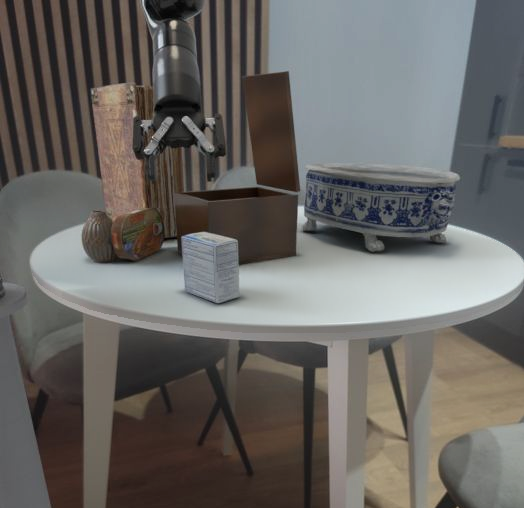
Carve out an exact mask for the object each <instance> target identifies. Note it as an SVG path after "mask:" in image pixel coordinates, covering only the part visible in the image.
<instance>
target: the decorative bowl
mask: <svg viewBox="0 0 524 508" xmlns="http://www.w3.org/2000/svg"><path fill="white" fill-rule="evenodd" d="M304 169H305V170H308V171H307V173H306V175H305V197H304V198H305V199H304V206H303V209H304V210H303V216H304V217H305V218H306V222H304V224H303V225H302V232H312V231H316V230H317V226H318V225H317V222H318V223H322V224H325V225H328V226H332V227H333V228H338V229H343V230H347V231H348V230H349V231H351V232H356V233H360V234H362V235H363V237H364V247H365V249H367V250H368V251H370V252H374V253H375V252H380V251H385V244H384V243H383V240H380V239H378V238H377V236H380V237H397V238H424V237H428V239H429V241H431V242H433V243H438V244H443V245H444V244H446V243H447V237H446V234H444V232H446V230H447V228H448V226H449V221H450V218H451V217H452V210H453V208H454V206H455V202H456V199H455V197H456V194H455V192H456V189H457V187H456V182H459V181H460V180H461V177H460V174H458V173H456V172H453V171H451V170H450V171H449V170H445V169H439V168H433V167H425V166H413V165H412V166H411V165H402V164H401V165H400V164H385V163H360V162H358V163H357V162H355V163H354V162H353V163H351V162H349V163H347V162H346V163H343V162H341V163H340V162H339V163H318V164H317V163H309V164H306V165H305V166H304Z"/></svg>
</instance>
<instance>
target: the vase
mask: <svg viewBox="0 0 524 508" xmlns="http://www.w3.org/2000/svg"><path fill="white" fill-rule="evenodd" d="M112 225H113V221H112V220H111V219H110V218H109V217H108V216H107V214H106V211H105V210H104V209H103V210H102V209H96V210H92V211H90V214H89V217H88V219H87V220H86V221H85V223H84V226H83V227H82V231H81V245H82V248H83V251H84V252H85V254H86V255H87V257H88V258H89V259H91V260H92V261H93V262H96V263H98V262H99V263H107V262H111V261H114V260H116V258H117V257H118V256H117V254H116V253H115V251H114V247H113V243H112V236H111V228H112Z"/></svg>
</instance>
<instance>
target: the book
mask: <svg viewBox="0 0 524 508" xmlns="http://www.w3.org/2000/svg"><path fill="white" fill-rule="evenodd" d="M89 90H90V98H91V106H92V113H93V121H94V130H95V139H96V146H97V154H98V163H99V171H100V175H101V176H100V179H101V186H102V187H101V188H102V193H103V201H104V211H105V212H106V214H107V216H108V217H109V218H110V219H111V220H112V221H113V222H114V220H115V219H116V218H117V217H118V216H120V215H123V214H126V213H130V212H133V211H136V210H139V209H143V208H155V209H157V210H158V211H159V213H160V214H161V216H162V219H163V222H164V228H165V236H164V239H167V238H168V239H169V238H177V230H176V214H175V198H174V192H185V180H184V163H183V147H178V148H170V147H169V146H168V147H167V148H166V149H165V151H164V152H163V153H162V154H160V155H159V156H158V157H157V158H156V160H155V161H156V175H157V184H152V182H151V180H148V178H147V175H146V168H145V160H143V159H141V160H138V159H136V157H135V154H134V151H133V149H132V141H133V118H134V117H135V116H139V117H140V118H141V120H152V118H153V116H154V102H153V85H152V86H151V85H137V83H136V82H134V81H132V82H125V83H116V84H109V85H103V86H93V87H91V88H90V89H89ZM154 134H155V132H154V131H153V129H150V130H149V131H148V134H147V135H146V136H144V143H143V147H144V148H146V147H147V146H148V144H149V143H150V142H151V140H152V137H153V135H154Z"/></svg>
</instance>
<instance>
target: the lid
mask: <svg viewBox="0 0 524 508" xmlns="http://www.w3.org/2000/svg"><path fill="white" fill-rule="evenodd" d="M241 81H242V87H243V88H242V89H243V95H244V103H245V109H246V118H247V123H248V133H249V136H250V137H249V138H250V139H249V140H250V146H251V152H252V158H253V166H254V167H253V168H254V175H255V182H256V185H257V186H261V187H262V186H263V187H266V188H267V187H268V188H271V189H273V188H274V189H279V190H282V191H288V192H294V193H299V192H301V184H300V174H299V173H300V172H299V164H298V154H297V153H298V152H297V142H296V132H295V122H294V111H293V101H292V90H291V79H290V71H289V70H286V71H277V72H268V73H260V74H249V75H243V76H241Z"/></svg>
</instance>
